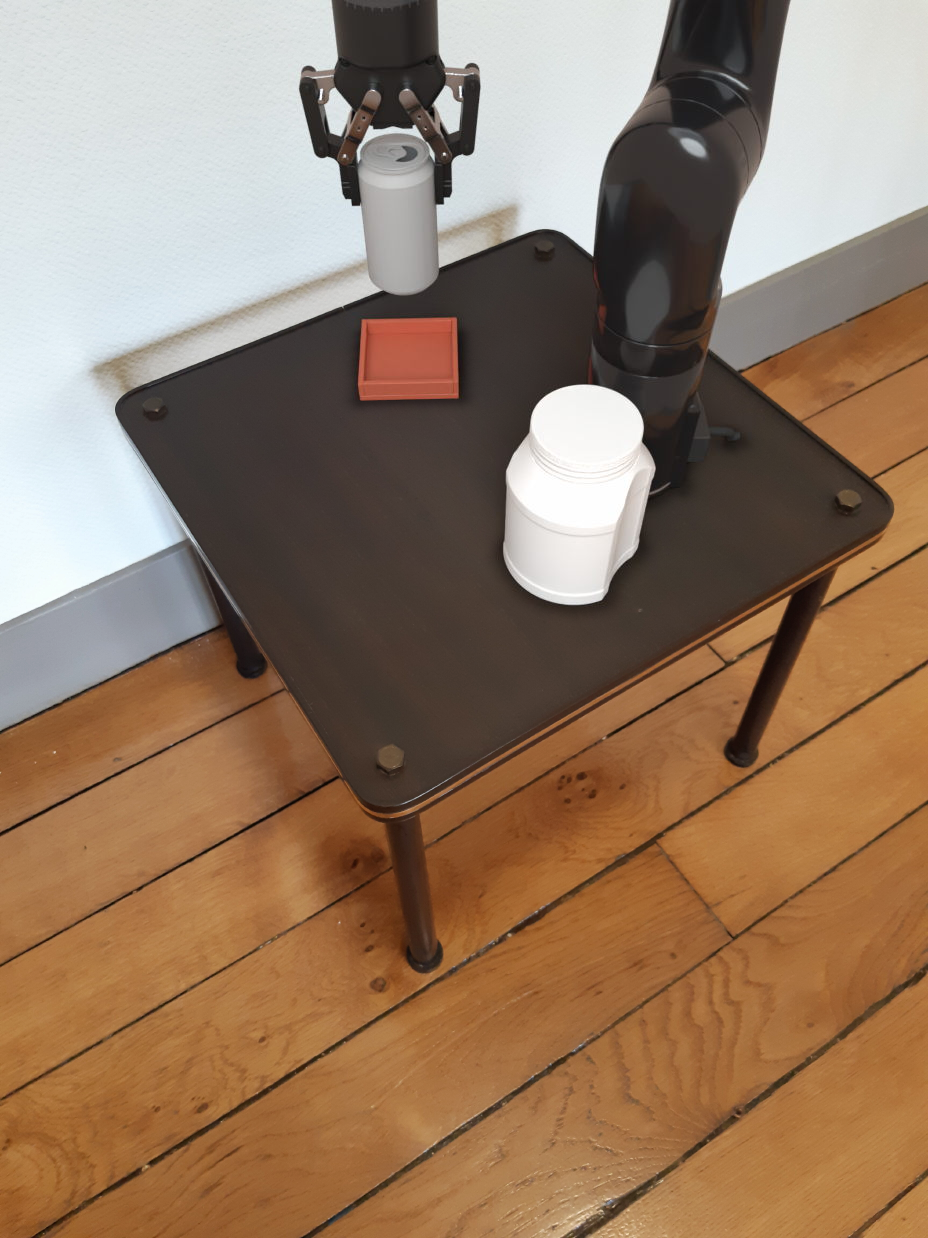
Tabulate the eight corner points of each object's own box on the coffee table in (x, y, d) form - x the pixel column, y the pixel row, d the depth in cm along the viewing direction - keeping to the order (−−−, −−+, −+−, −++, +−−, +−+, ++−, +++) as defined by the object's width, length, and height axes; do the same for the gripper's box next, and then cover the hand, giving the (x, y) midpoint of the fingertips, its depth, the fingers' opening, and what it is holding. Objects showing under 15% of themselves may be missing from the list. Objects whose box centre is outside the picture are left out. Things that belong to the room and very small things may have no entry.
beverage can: (430, 304, 84) (425, 175, 74) (361, 295, 84) (345, 167, 74) (445, 261, 87) (442, 132, 77) (378, 253, 88) (366, 125, 78)
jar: (555, 486, 85) (568, 354, 73) (650, 530, 82) (681, 400, 70) (487, 572, 80) (489, 445, 67) (586, 622, 77) (608, 499, 64)
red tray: (457, 333, 97) (456, 316, 95) (458, 398, 92) (458, 381, 90) (363, 335, 97) (361, 318, 95) (360, 400, 92) (357, 384, 90)
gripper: (275, 3, 63) (310, 228, 77) (488, -1, 64) (485, 224, 77) (284, -44, 68) (316, 176, 81) (484, -48, 68) (482, 173, 82)
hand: (398, 199), depth 79 cm, fingers closed on beverage can, 6 cm apart
